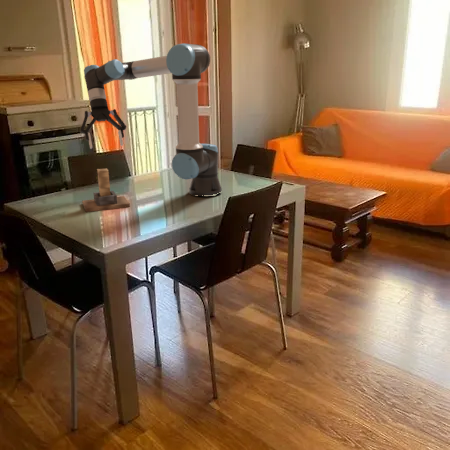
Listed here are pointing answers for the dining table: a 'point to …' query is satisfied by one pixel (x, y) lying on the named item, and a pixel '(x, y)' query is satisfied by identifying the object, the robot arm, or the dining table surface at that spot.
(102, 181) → the tan tall block
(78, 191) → the dining table surface
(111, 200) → the post base
